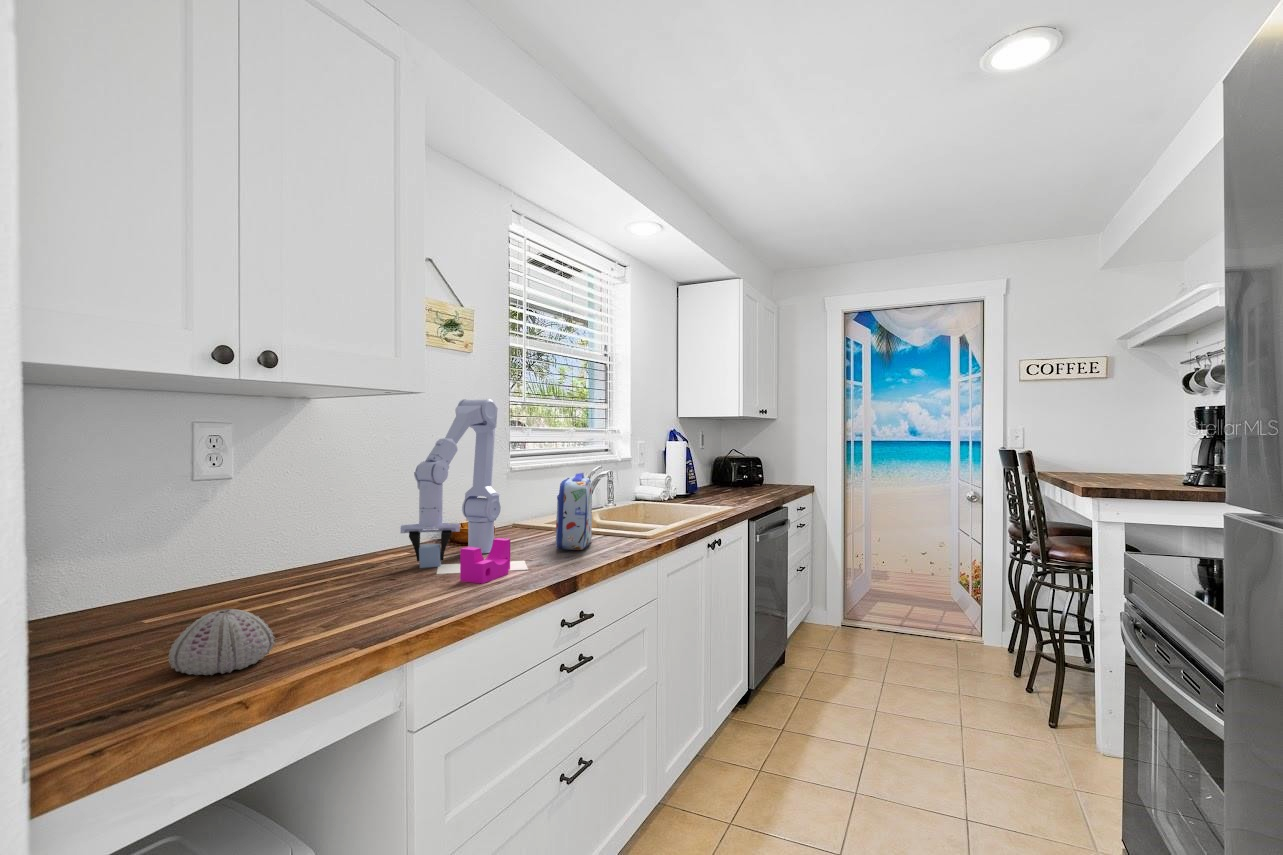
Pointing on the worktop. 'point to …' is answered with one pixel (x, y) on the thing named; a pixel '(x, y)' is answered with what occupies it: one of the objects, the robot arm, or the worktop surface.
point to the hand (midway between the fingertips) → (430, 560)
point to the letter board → (456, 567)
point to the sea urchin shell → (221, 643)
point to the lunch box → (574, 513)
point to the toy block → (485, 562)
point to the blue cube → (429, 555)
